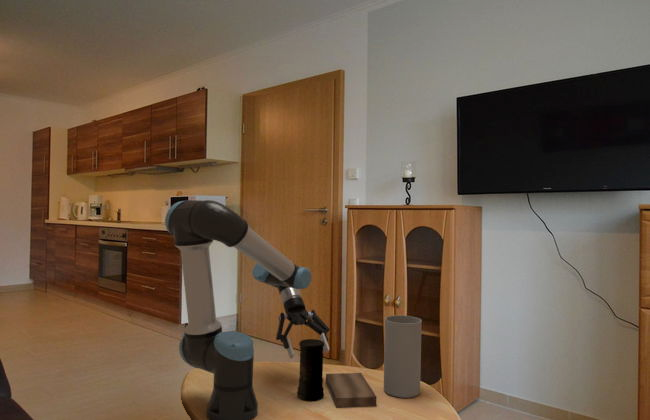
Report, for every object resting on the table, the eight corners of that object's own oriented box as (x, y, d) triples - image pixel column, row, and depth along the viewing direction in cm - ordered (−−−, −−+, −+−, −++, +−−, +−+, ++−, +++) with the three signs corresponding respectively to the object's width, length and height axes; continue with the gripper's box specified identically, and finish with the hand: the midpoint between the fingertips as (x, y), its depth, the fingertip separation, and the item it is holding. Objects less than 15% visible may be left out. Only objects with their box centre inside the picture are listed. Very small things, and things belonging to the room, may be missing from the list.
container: (298, 390, 157) (299, 338, 157) (324, 391, 157) (325, 338, 157) (295, 401, 148) (296, 345, 148) (323, 402, 148) (324, 346, 148)
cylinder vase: (387, 382, 166) (388, 314, 166) (421, 387, 162) (423, 317, 162) (380, 395, 154) (382, 321, 154) (418, 401, 150) (419, 325, 150)
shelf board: (336, 407, 143) (336, 398, 143) (325, 382, 165) (326, 373, 165) (376, 406, 145) (376, 396, 145) (360, 381, 167) (361, 372, 167)
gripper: (318, 304, 178) (337, 354, 165) (258, 310, 166) (273, 364, 152) (325, 293, 173) (345, 343, 160) (264, 298, 161) (280, 353, 148)
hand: (310, 354), depth 156 cm, fingers open, 13 cm apart
